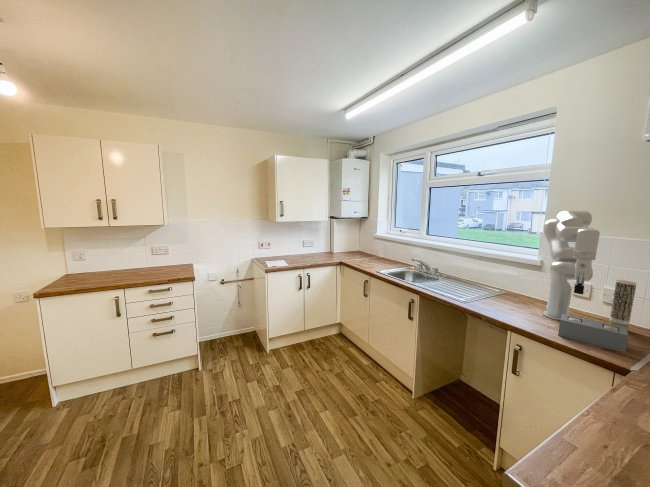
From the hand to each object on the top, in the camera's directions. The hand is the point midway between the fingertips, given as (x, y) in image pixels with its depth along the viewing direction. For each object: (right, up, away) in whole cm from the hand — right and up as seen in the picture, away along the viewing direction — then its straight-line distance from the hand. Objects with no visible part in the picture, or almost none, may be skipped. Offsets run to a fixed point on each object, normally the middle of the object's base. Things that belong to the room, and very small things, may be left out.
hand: (578, 293), depth 129 cm
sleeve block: (+4, -21, -2) cm, 22 cm away
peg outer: (+8, -22, -6) cm, 24 cm away
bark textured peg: (+30, -21, +10) cm, 38 cm away
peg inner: (-1, -21, +2) cm, 21 cm away
